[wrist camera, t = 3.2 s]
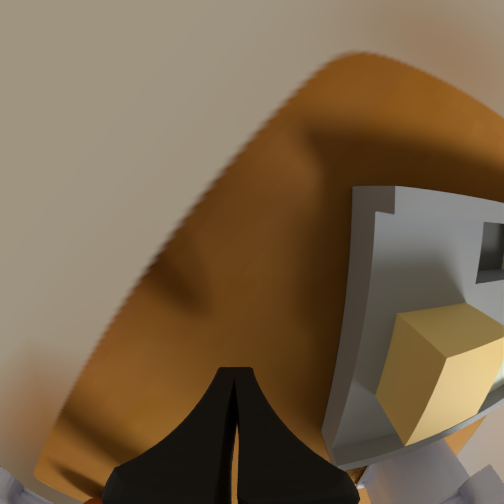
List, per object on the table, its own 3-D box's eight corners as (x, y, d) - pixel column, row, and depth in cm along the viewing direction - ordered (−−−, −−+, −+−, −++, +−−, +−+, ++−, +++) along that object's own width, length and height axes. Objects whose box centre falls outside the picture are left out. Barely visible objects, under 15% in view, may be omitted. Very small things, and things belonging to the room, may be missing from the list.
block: (442, 376, 12) (476, 414, 8) (375, 395, 12) (404, 446, 8) (466, 302, 11) (514, 332, 7) (396, 313, 11) (446, 358, 7)
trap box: (494, 375, 16) (516, 394, 12) (320, 430, 15) (333, 473, 12) (534, 212, 13) (566, 219, 9) (352, 186, 12) (395, 185, 8)
